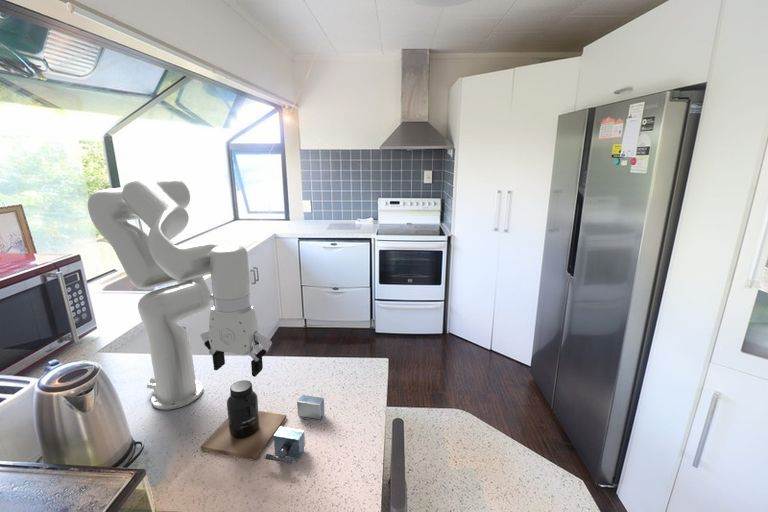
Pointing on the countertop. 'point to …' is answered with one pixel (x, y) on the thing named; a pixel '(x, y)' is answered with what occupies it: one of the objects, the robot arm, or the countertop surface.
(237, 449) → the walnut board
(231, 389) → the supplement bottle
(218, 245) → the robot arm
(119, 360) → the countertop surface
